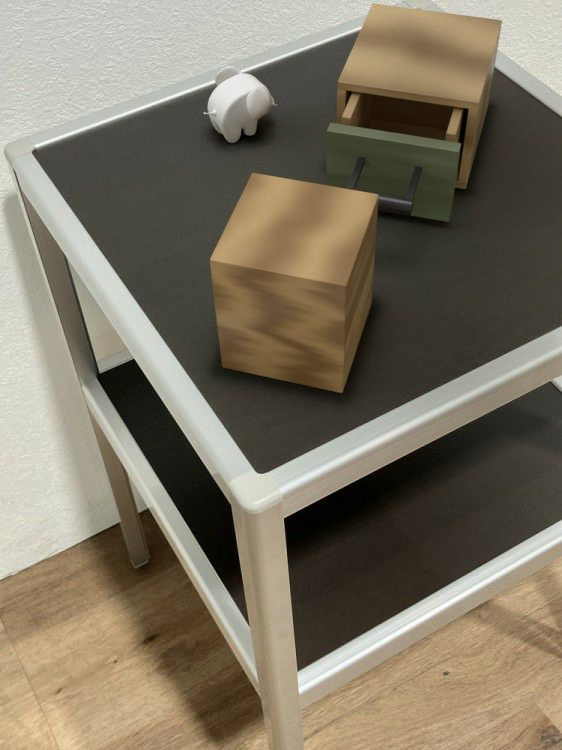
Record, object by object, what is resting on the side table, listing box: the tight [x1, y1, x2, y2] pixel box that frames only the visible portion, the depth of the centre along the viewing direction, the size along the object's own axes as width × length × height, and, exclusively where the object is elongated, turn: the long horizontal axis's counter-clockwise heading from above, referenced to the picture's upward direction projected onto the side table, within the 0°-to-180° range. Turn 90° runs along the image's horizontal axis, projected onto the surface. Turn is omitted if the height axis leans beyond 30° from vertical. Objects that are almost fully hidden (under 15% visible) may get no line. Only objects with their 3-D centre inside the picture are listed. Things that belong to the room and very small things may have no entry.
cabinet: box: [336, 3, 503, 190], centre depth 92 cm, size 14×13×10 cm
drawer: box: [325, 91, 469, 223], centre depth 87 cm, size 18×11×8 cm, turn 163°
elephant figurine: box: [203, 65, 278, 144], centre depth 95 cm, size 7×8×6 cm
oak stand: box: [209, 172, 379, 394], centre depth 75 cm, size 10×10×12 cm
